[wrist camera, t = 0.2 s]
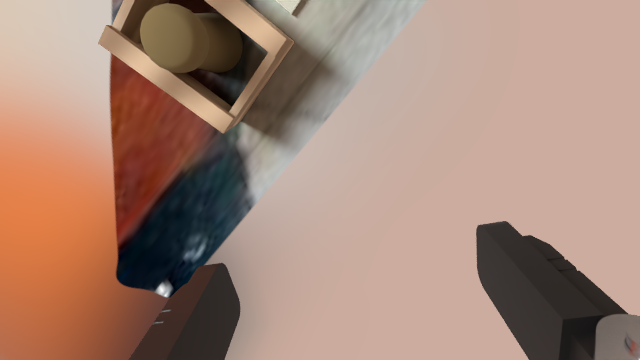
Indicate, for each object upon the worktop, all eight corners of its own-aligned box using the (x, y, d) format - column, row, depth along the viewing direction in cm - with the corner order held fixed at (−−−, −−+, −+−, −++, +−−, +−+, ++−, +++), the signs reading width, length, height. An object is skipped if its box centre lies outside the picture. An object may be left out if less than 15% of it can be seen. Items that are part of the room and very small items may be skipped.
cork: (238, 10, 33) (194, -10, 23) (246, 70, 35) (210, 77, 25) (182, 14, 33) (115, -4, 23) (194, 74, 35) (138, 81, 25)
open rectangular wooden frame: (138, 45, 34) (98, 43, 29) (185, -50, 31) (150, -74, 25) (240, 121, 37) (223, 133, 31) (294, 41, 34) (286, 39, 28)
